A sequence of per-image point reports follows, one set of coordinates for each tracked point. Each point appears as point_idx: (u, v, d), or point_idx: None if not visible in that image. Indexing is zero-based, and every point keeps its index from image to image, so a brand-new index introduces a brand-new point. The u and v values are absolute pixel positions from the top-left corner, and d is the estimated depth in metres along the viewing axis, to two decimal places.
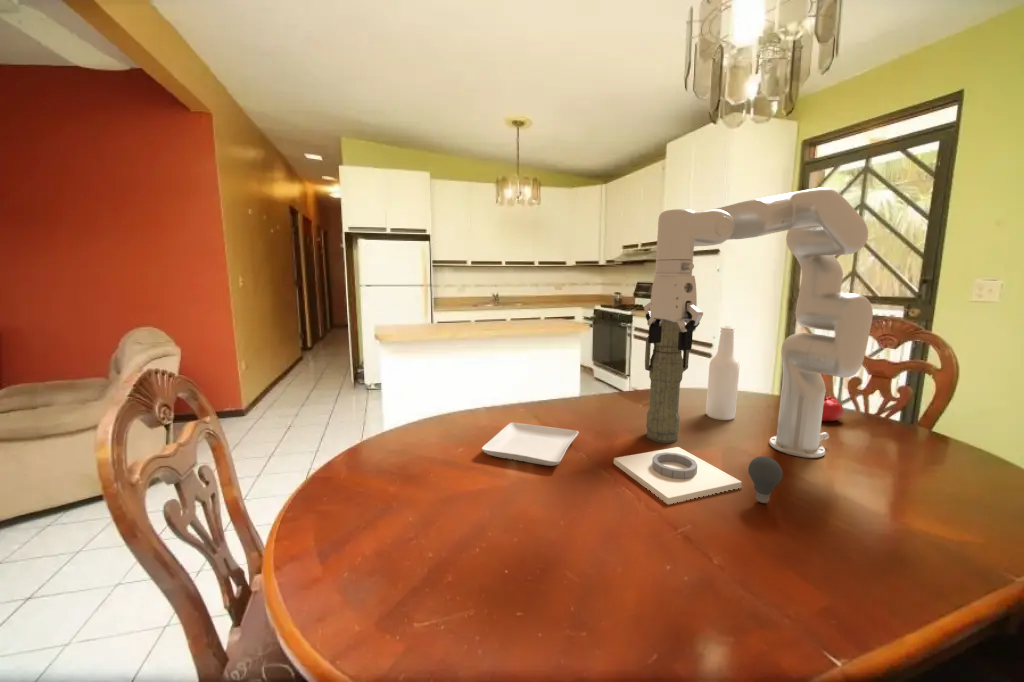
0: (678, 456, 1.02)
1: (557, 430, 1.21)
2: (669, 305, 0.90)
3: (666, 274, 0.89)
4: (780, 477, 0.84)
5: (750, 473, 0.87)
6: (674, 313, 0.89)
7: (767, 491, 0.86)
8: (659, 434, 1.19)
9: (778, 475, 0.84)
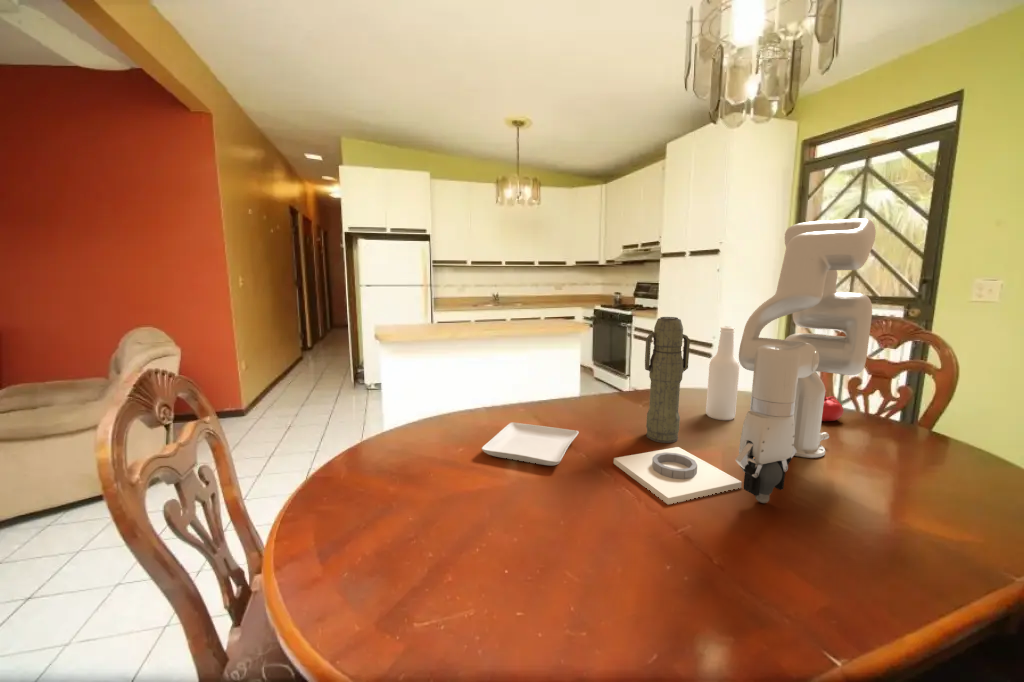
0: (678, 456, 1.02)
1: (557, 430, 1.21)
2: (786, 445, 0.84)
3: (793, 416, 0.82)
4: (780, 477, 0.84)
5: None
6: (789, 452, 0.85)
7: (767, 491, 0.86)
8: (659, 434, 1.19)
9: (778, 475, 0.84)
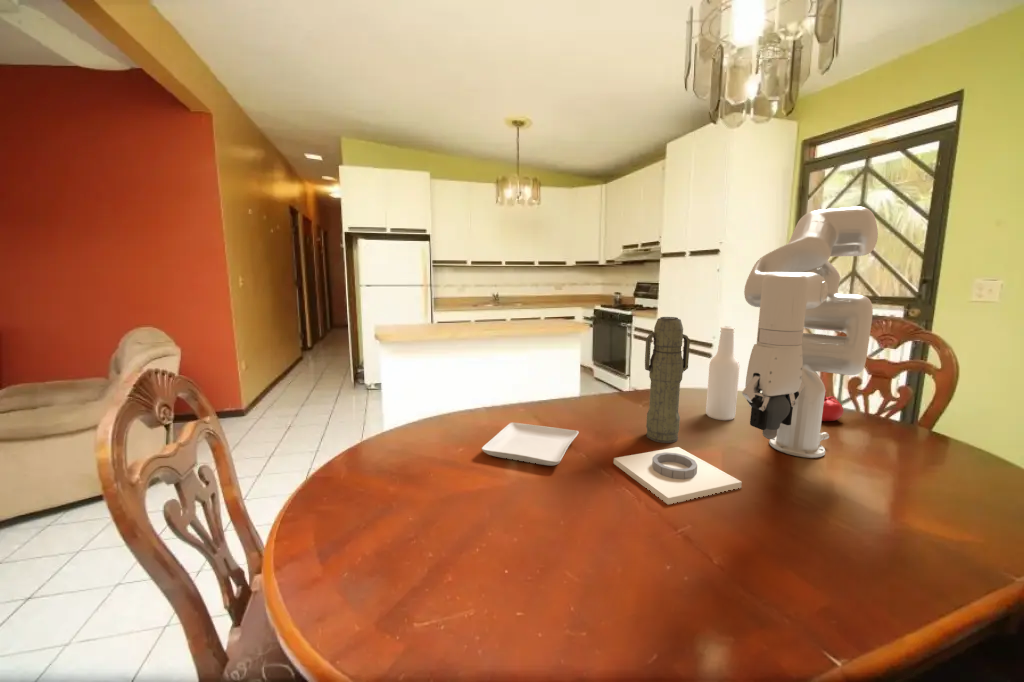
0: (678, 456, 1.02)
1: (557, 430, 1.21)
2: (794, 378, 0.82)
3: (801, 346, 0.80)
4: (788, 410, 0.82)
5: None
6: (797, 384, 0.83)
7: (774, 426, 0.83)
8: (659, 434, 1.19)
9: (786, 408, 0.82)
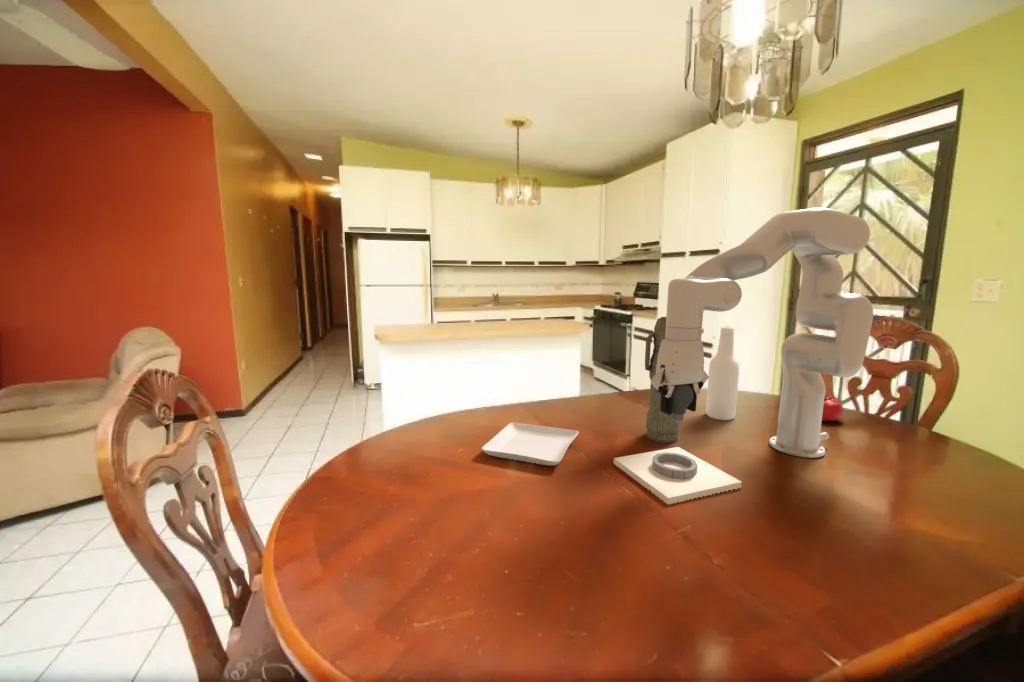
0: (678, 456, 1.02)
1: (557, 430, 1.21)
2: (695, 369, 0.94)
3: (700, 341, 0.92)
4: (690, 397, 0.94)
5: None
6: (699, 375, 0.95)
7: (680, 411, 0.95)
8: (659, 434, 1.19)
9: (689, 395, 0.94)
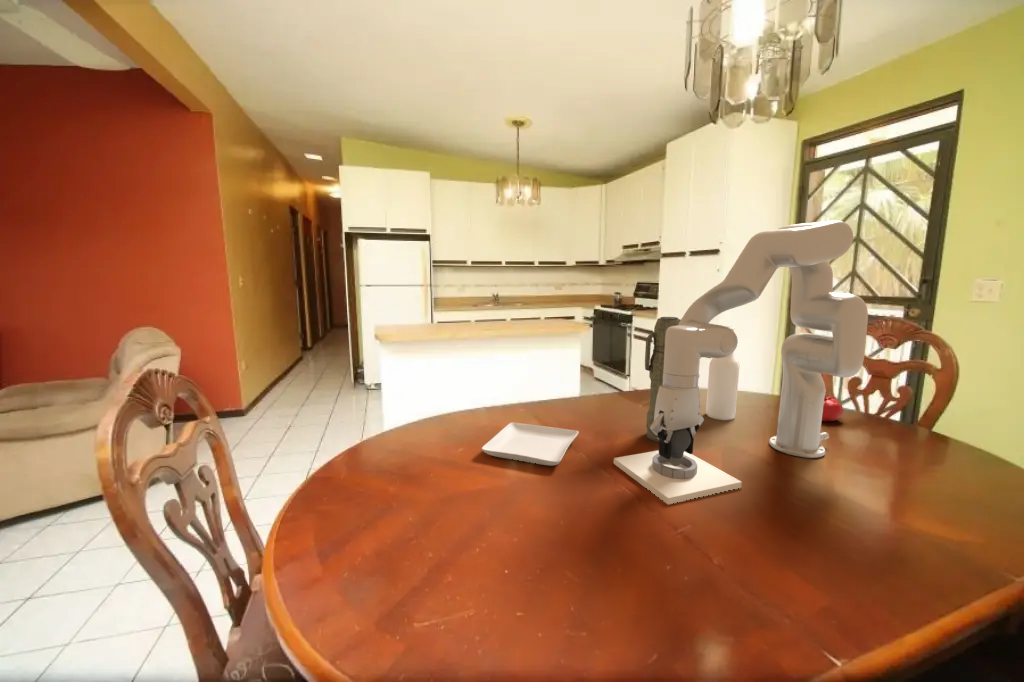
0: None
1: (557, 430, 1.21)
2: (692, 414, 0.96)
3: (697, 387, 0.94)
4: (688, 442, 0.96)
5: None
6: (696, 419, 0.97)
7: (678, 455, 0.97)
8: None
9: (687, 440, 0.95)
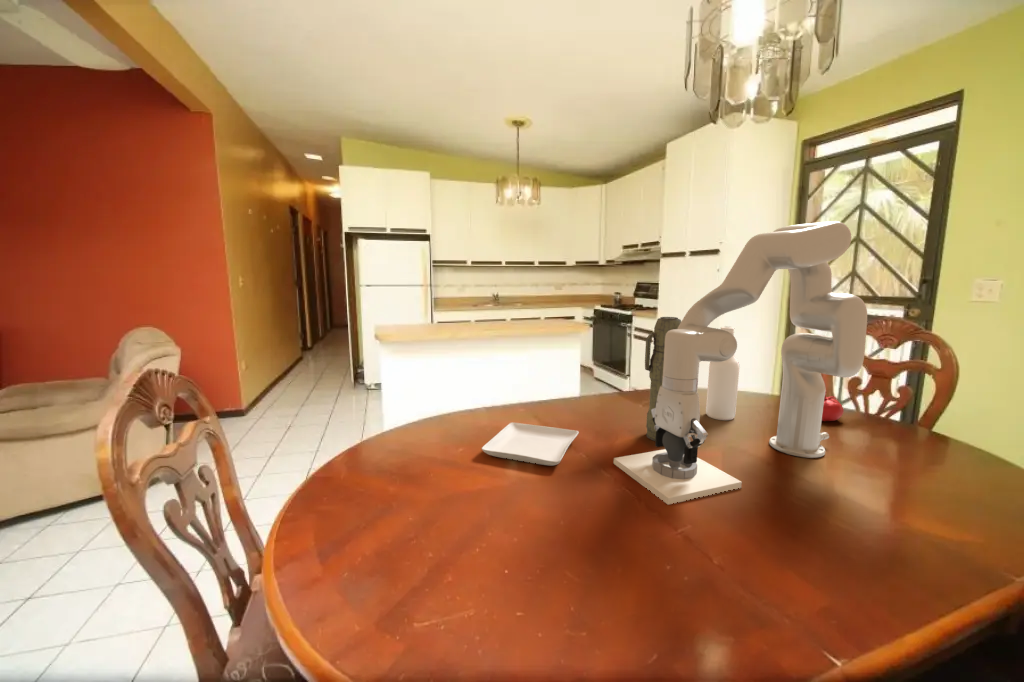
0: None
1: (557, 430, 1.21)
2: None
3: None
4: None
5: (680, 448, 0.95)
6: None
7: None
8: None
9: None
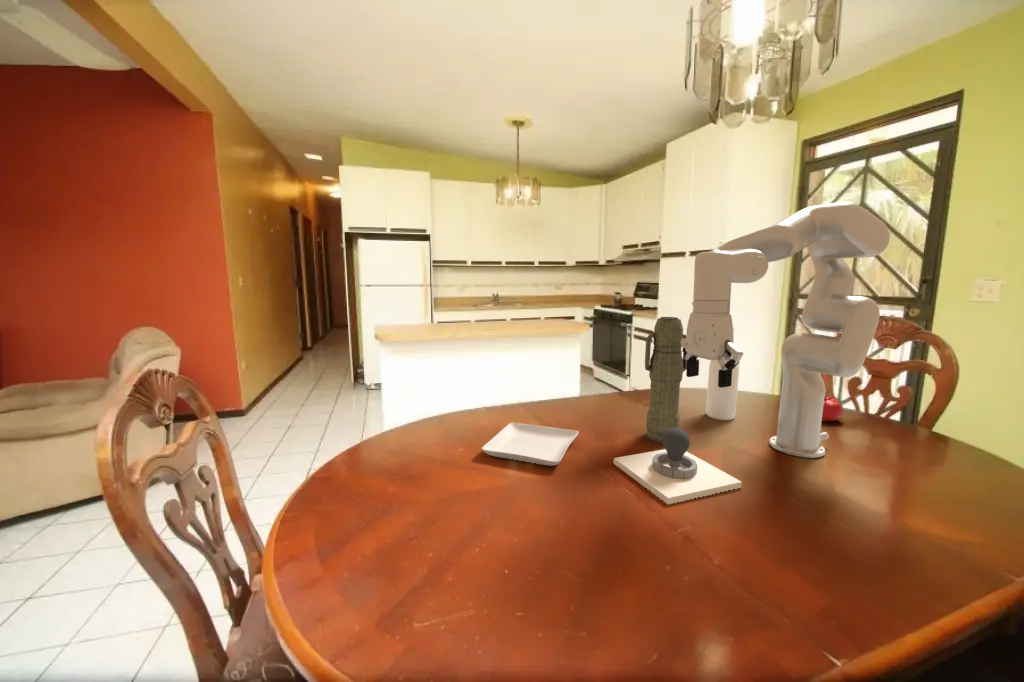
0: None
1: (557, 430, 1.21)
2: None
3: None
4: None
5: (680, 448, 0.95)
6: None
7: None
8: (659, 434, 1.19)
9: None
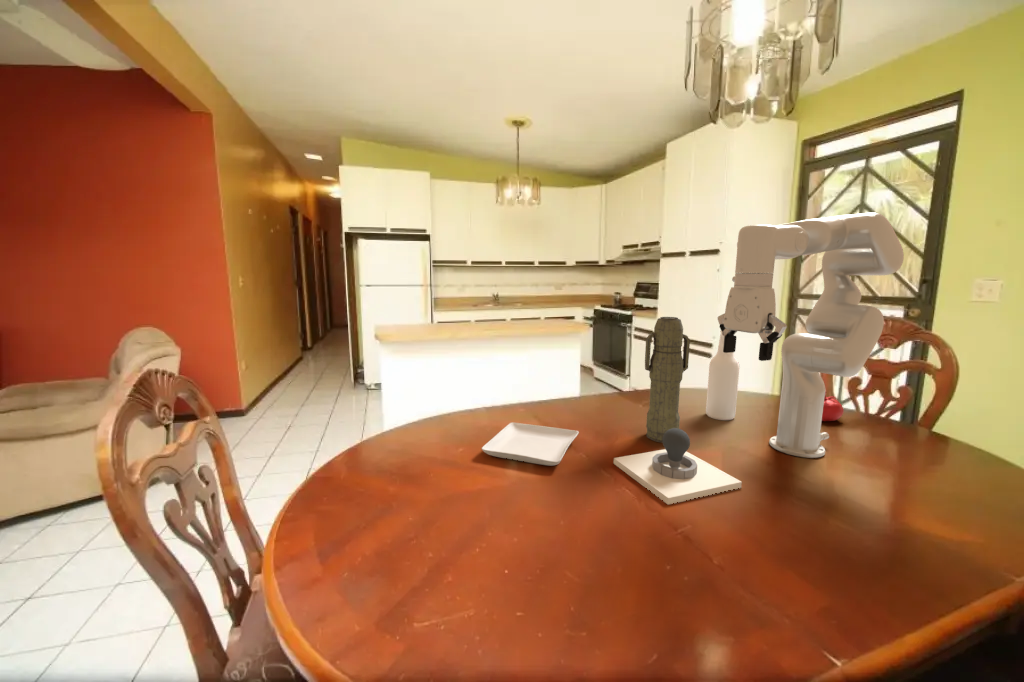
0: None
1: (557, 430, 1.21)
2: None
3: None
4: None
5: (680, 448, 0.95)
6: None
7: None
8: (659, 434, 1.19)
9: None
